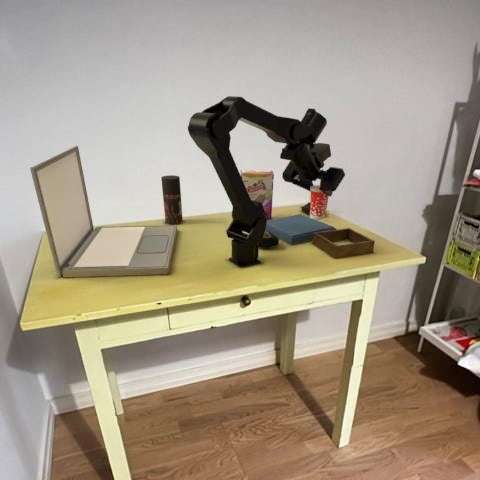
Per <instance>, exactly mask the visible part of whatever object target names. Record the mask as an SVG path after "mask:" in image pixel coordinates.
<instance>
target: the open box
mask: <svg viewBox="0 0 480 480" xmlns="http://www.w3.org/2000/svg"><path fill="white" fill-rule="evenodd" d="M342 241H348V242H350V243H344V244H336V242H342ZM311 244H312V245H313V246H315V247H316V248H318V249H320V250H321V251H323V252H324V253H326V255H329V256H330V257H332V258H333V259H340V258H346V257H354V256H360V255H367V254H373V253H374V249H375V244H376V240H373V239H372V238H370V237H368V236H366V235H364V234H362V233H360V232H358V231H356V230H354V229H352V228H351V227H347V228H339V229H336V230H330V231H322V232H314V233H313V240H312V243H311Z"/></svg>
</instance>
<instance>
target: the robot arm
mask: <svg viewBox="0 0 480 480" xmlns="http://www.w3.org/2000/svg"><path fill="white" fill-rule="evenodd" d="M239 122H242V123H245V124H247V125H249V126H251V127H254V128H256V129H258V130H260V131H263V132H264V133H265V134H266V136H267V137H268V138H269V139H270V140H272V141H273V142H275V143H279V144H285V145H284V147H282V148H281V152H280V156H279V158H280V159H281V160H286V161H289V162H288V164H287V165H286V167H285V168H284V170H283V172H282V173H281V174H282V180H283V181H284V182H286V183H289V184H292V185H295V186H297V187H299V188H302V189H305V190H306V191H308V192H310V193H311V190H310V186H314V183H313V182H316V181H317V180H321V186H320V188H319V190H321V191H322V192H324V193H325V194H326V195H328V196H329V197H332V196H333V192H335V191H337V189H338V188H339V186H340V184H341V183H342V181H343V180H344V178H345V176H346V173H345V170H344V169H343V168H342V167H336V166H330V167H328V169H326V170H324V169H323V168H324V166H325V163H324V162H325V161H327V159H329V158H330V157H332V151H331V145H330V144H329V143H324V142H323V143H322V142H317V140H318V139H319V137H320V136H321V134H322V133H323V131H324V129H325V128H326V126H327V124H328V121H327V118H326V117H325V116H324V115H323V114H321V113H320V112H318V111H317V109H315V108H309V107H308V108H307V110H306V112H305V114H304V115H303V117H302V119H301V120H299V119H297V118H292V117H286V116H280V115H276V114H274V113H272V112H270V111H268V110H266V109H264V108H262V107H261V106H260V107H259V106H258V105H256V104H254V103H252V102H250V101H248V100H246V99H245V98H244V97H243V96H233V95H229V96H226V97H224V98H223V99H222V100H220V101H219V102H217V103H215V104H213V105H211V106H209V107H206V108H205V109H204V110H202V111H201V112H200V111H199V112H195V113H193V115H191V117H190V118H189V121H188V126H187V131H188V134H189V136H190V138H191V140H192V141H193V142H194V143H195V145H196V146H197V148H198V149H199V150H201V152H203V153H204V155H206V156H207V157H208V158H209V159H210V160H209V161H210V162H211V164H212V167H213V169H214V170H215V172H216V174H217V176H218V179H219V181H220V183H221V185H222V187H223V189H224V192H225V193H226V195H227V198H228V200H229V201H230V204H231V206H232V208H231V209H232V210H231V218H232V221H231V222H230V224H229V226H228V227H227V229H226V230H225V233H226V236H227V239H231V256H230V257H228V261H230V262H231V263H232V264H234V265H236V266H237V267H239V268H246V267H248V266H253V265H258V264H261V260H260V259H259V257H260V256H259V253H260V250H259V249H260V248H259V244H258V243H259V242H262V239H263V236H264V232H265V229H266V224H267V219H266V216H267V214H266V213H265V211H264V208H263V205H262V203H261V202H257V201H253V200H251V199H250V196H249V194H248V192H247V189H246V187H245V185H244V182H243V180H242V178H241V175H240V170H239V169H238V166H237V163H236V161H235V159H234V157H233V154H232V152H231V149H230V148H231V147H230V146H231V138H232V137H231V132H232V131H233V130H234V129H235V128H236V127H237V125H238V123H239ZM316 142H317V143H316ZM322 169H323V170H322Z"/></svg>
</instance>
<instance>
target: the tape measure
mask: <svg viewBox="0 0 480 480" xmlns="http://www.w3.org/2000/svg"><path fill="white" fill-rule="evenodd" d="M258 244H259V249H270V248H274V247H278V246H279V244H280V239H278V238H277V237H276V236H275V235H273V234H272V233H271V232H269V231H268V232H264V236H263V239H262V242H259V243H258Z"/></svg>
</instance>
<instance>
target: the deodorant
mask: <svg viewBox="0 0 480 480" xmlns="http://www.w3.org/2000/svg"><path fill="white" fill-rule="evenodd" d="M161 188H162V198H163V199H162V200H163V210H164V220H165V221H164V222H165V225H166V224H167V225H177V226H178V225H180V224H183V221H184V220H183V207H182V191H181V179H180V176H179V175H171V174H169V175H163V176H161Z"/></svg>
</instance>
